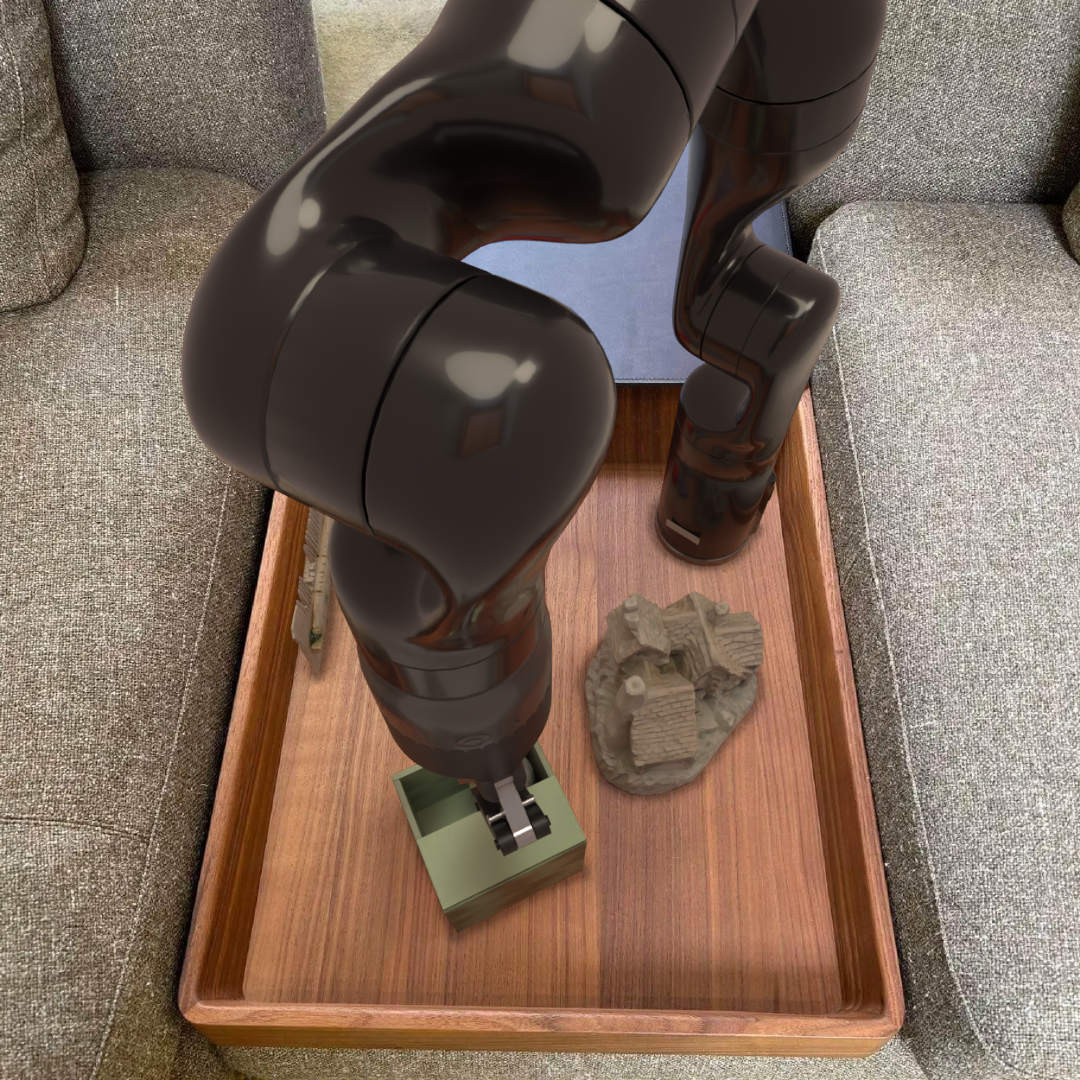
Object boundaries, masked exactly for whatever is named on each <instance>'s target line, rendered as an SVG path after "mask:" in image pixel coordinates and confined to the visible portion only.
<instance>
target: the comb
mask: <svg viewBox="0 0 1080 1080" xmlns="http://www.w3.org/2000/svg"><path fill="white" fill-rule="evenodd" d="M308 509H309V510H308V511H309V512H308V520H307V522H306V524H307V525H306V530H305V535H304V540H305V543H306V544H305V543H304V544H303V548H302V549H303V552H304V554H305V561H304V570H303V577H302V576H298V578H299V581H298V588H297V593H298V597H299V599H300V600H298V599H296V600H295V603H296V604H295V605H294V610H293V611H294V612H293V615H292V620H291V626H290V631H291V638H292V640H294V641H295V642H296V644H297V645H298V646H299V648H300V651H301V653H302V654H303V656H304V657H305V658H306V660H307V662H308V663H309V664H310V666H311V668H312V669H313V671H314V672H315V674H316V675H317V676H319V675H320V670H321V664H322V659H323V658H322V657H323V652H324V643H325V639H326V633H327V628H328V623H329V622H328V621H329V620H328V617H327V616H328V615H329V607H330V606H329V605H330V599H331V594H330V593H331V585H332V582H331V578H330V572H329V563H328V543H329V534H330V529H331V526H332V522H333V520H334V519H332V518H330V517H328V516H326V515H324V514H322V513H320V512H318V511H316V510H314V509H312V508H310V507H308Z"/></svg>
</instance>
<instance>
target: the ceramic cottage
mask: <svg viewBox="0 0 1080 1080" xmlns="http://www.w3.org/2000/svg"><path fill="white" fill-rule="evenodd" d="M730 611H731V608H730V605H729V604H727V602H726V601H725V600H724V601H717V602H716V601H714V600H712V599H710V598H708V597H707V596H706V595H704V594H702V593H700V592H697V591H695V590H693V591H690V592H689V593H687V594H686V595H684V596H682V597H681V598H680V599H678V600H676V601H675V602H673V603H670V605H668V606H667V607H665V608H660V607H659V605H658V604H657V603H655V602H653V601H652V600H650V599H649V598H646V597H644V596H643V595H642V594H641V593H639V592H637V591H632V592H631V593H630V594H629V597H628V598H624V599H623V601H622V604H620V605H619V606H617V607H615V608H614V609H612V610H610V611H609V612H608V613H607V615H606V616H605V619H606V625H607V628H608V629H606V631H605V636H604V641H603V642H602V643H601V645H600V647H599V649H598V650H597V652H596V653H595V655H594V657H593V658H592V660H591V662H590V664H589V666H588V669H587V671H586V674H585V679H584V684H583V689H584V695H585V701H586V706H587V714H588V720H589V731H590V735H591V746H592V751H593V754H594V760H595V763H596V766H597V769H598V770H599V772H600V773H601V774H602V776H603V777H604V778H605V780H606V781H607V782H608V783H610V784H612V785H613V786H614V787H616V788H618V789H619V790H621V791H623V792H625V793H627V792H628V793H629V794H631V795H635V796H643V795H646V796H649V795H659V794H663V793H668V792H669V791H671V790H676V789H678V788H679V787H680V788H681V787H682V786H684V785H687V784H690V783H691V782H693V781H694V780H695V779H697V777H698V776H699V775H700V773H701V772H702V771H704V769H705V767H707V765H708V764H709V763H710V761H711V760H712V758H713V757H714V755H715V754H716V753H717V751H718V750H719V749H720V748H721V746H722V744H724V743H725V742H726V740H727V739H728V737H729V735H730V734H732V732H733V731H734V730H735V728H736V727H737V726H738V725H739V724H740V723H741V721H742V720H743V719H744V718H745V716H746V715H747V714H748V713H749V711H750V710H752V707H753V704H754V702H755V700H756V698H757V693H758V677H757V675H756V674H757V673H758V671H759V668H760V666H762V665H764V650H765V649H764V648H765V647H764V634H763V628H762V624H761V622H759V621H758V620H757V619H756V617H755V616H754V615H753V614H752V612H751V611H748V610H745V611H738V612H730Z"/></svg>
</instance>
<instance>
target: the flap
mask: <svg viewBox="0 0 1080 1080" xmlns="http://www.w3.org/2000/svg"><path fill="white" fill-rule="evenodd" d="M527 790H528V791H529V793H530V794H533V795H534V797H535V799H536V803H537V804H538V805H539V807H540V808H541V810H542V811H543V813H544V815H547V816H548V818H549V820H550V822H551V825H550V829H551V834H549V835H547V836H545V837H543V838H541V839H539V840H537V841H535V842H533V843H531V844H529V845H527V846H525V847H523V848H521V849H518V850H517V851H515V852H513V853H511V854H508V855H506V856H503V854H502V852H501V850H497V848H496V846H495V843H494V841H493V840H495V839H494V837H493V835H492V833H491V831H490V829H489V827H488V825H487V823H486V821H485V819H484V817H483V815H482V813H481V811H479V812H478V811H477V812H475V813H473V814H471V815H469V816H467V817H464V818H462V819H460V820H458V821H456V822H454V823H452V824H450V825H448V826H445V827H443V828H441V829H439V830H437V831H435V832H433V833H431V834H429V835H426V836H424V837H422V838H420V839H418V840H415V843H416V842H417V843H416V845H417V844H418V845H417V847H419V848H418V850H419V849H420V850H419V853H420V852H421V853H420V855H421V858H422V857H423V858H422V861H423V860H424V861H423V863H424V862H425V863H424V865H426V866H425V868H426V867H427V868H426V871H427V870H428V871H427V873H428V876H429V875H430V876H429V879H430V878H431V879H430V881H431V880H432V881H431V884H432V883H433V884H432V886H433V889H434V888H435V889H434V891H435V894H436V893H437V894H436V896H438V897H437V899H438V898H439V899H438V901H440V902H439V904H440V907H441V909H443V910H442V912H443V911H445V910H447V909H449V908H451V907H453V906H455V905H457V904H459V903H461V902H463V901H465V900H467V899H469V898H471V897H473V896H475V895H477V894H479V893H481V892H483V891H485V890H487V889H489V888H491V887H493V886H495V885H497V884H499V883H501V882H503V881H505V880H507V879H509V878H511V877H513V876H515V875H517V874H519V873H521V872H523V871H526V870H528V869H530V868H532V867H534V866H536V865H538V864H540V863H542V862H544V861H546V860H548V859H550V858H552V857H554V856H556V855H558V854H560V853H562V852H564V851H566V850H568V849H570V848H572V847H574V846H576V845H578V844H580V843H582V842H584V841H587V837H586V835H585V833H584V831H583V829H582V827H581V825H580V823H579V820H578V819H577V817H576V815H575V812H574V810H573V808H572V806H571V804H570V802H569V800H568V798H567V796H566V794H565V792H564V790H563V787H562V785H561V784H560V781H559V779H558V777H557V776H556V774H554V775H553V776H551V777H549V778H547V779H545V780H542V781H540V782H538V783H536V784H534V785H532V786H530V787H528V788H527Z"/></svg>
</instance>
